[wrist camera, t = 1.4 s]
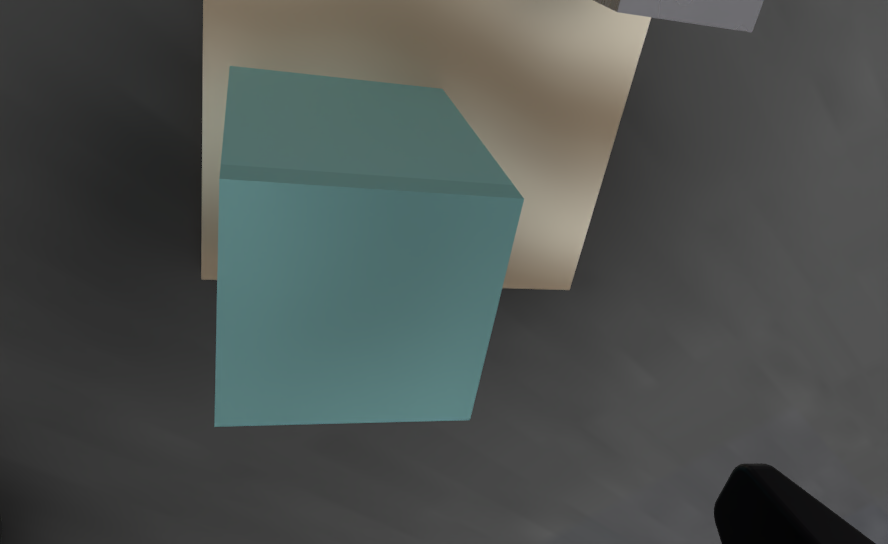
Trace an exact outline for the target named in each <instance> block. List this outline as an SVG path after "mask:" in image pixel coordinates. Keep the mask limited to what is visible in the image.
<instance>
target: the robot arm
mask: <svg viewBox="0 0 888 544" xmlns="http://www.w3.org/2000/svg"><path fill="white" fill-rule="evenodd" d="M714 518H715V523H716V526H717V529H718V533H719V536H720V539H721V542H722V544H875V543H874V542H873V541H871V540H870V539H869V538H867V537H866V536H865V535H863V534H862V533H861V532H859V531H858V530H857V529H855V528H854V527H853V526H851V525H850V524H849V523H847V522H846V521H845V520H843V519H842V518H841V517H839V516H838V515H837V514H835V513H834V512H833V511H831V510H830V509H829V508H827V507H826V506H825V505H823V504H822V503H821V502H819V501H818V500H817V499H815V498H814V497H813V496H811V495H810V494H809V493H807V492H806V491H805V490H803V489H802V488H801V487H799V486H798V485H797V484H795V483H794V482H793V481H791V480H790V479H789V478H787V477H786V476H785V475H783V474H782V473H781V472H779V471H778V470H777V469H775V468H774V467H772V466H770V465H767V464H740V465H739V466H737V467H736V468H735V469H734V470H733V472H732V474H731V475H730V477H729V479H728V481H727V482H726V484H725V486H724V488H723V490H722V491H721V493H720V495H719V497H718V499H717V500H716V503H715V507H714ZM1 535H2V521H1V516H0V542H1Z"/></svg>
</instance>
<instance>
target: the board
mask: <svg viewBox="0 0 888 544" xmlns="http://www.w3.org/2000/svg"><path fill="white" fill-rule="evenodd" d="M650 20H651V17H646V16H639V15H632V14H626V13H619V12H616V11H614V10H612V9H610V8H608V7H606V6H604V5H602V4H600V3H598V2H595V1H593V0H203V101H202V243H201V280H217V271H218V221H219V177H220V166H221V155H222V144H223V133H224V122H225V111H226V101H227V90H228V79H229V68H230V66H237V67H246V68H255V69H265V70H274V71H283V72H292V73H302V74H311V75H320V76H329V77H338V78H348V79H357V80H366V81H375V82H385V83H394V84H403V85H412V86H422V87H431V88H440V89H443V90H444V92H445V93H446V94H447V96H448V97H449V98H450V100H451V101H452V102H453V104H454V105H455V106H456V108H457V109H458V110H459V112H460V113H461V114H462V116H463V117H464V119H465V120H466V121H467V123H468V124H469V125H470V127H471V128H472V129H473V131H474V132H475V133H476V135H477V136H478V137H479V139H480V140H481V141H482V143H483V144H484V145H485V147H486V148H487V150H488V151H489V152H490V154H491V155H492V156H493V158H494V159H495V160H496V162H497V163H498V164H499V166H500V167H501V168H502V170H503V171H504V172H505V174H506V175H507V176H508V178H509V179H510V180H511V182H512V183H513V185H514V186H515V187H516V189H517V190H518V191H519V193H520V194H521V195H522V197H523V198H524V202H523V206H522V210H521V214H520V218H519V222H518V226H517V230H516V234H515V238H514V242H513V246H512V251H511V255H510V259H509V263H508V267H507V271H506V275H505V279H504V283H503V287H502V288H515V289H550V290H570V287H571V283H572V280H573V277H574V273H575V270H576V267H577V263H578V260H579V257H580V253H581V250H582V247H583V243H584V240H585V237H586V233H587V230H588V227H589V223H590V220H591V217H592V213H593V210H594V207H595V203H596V200H597V197H598V193H599V190H600V187H601V183H602V180H603V177H604V173H605V170H606V167H607V163H608V160H609V157H610V153H611V150H612V147H613V143H614V140H615V137H616V133H617V130H618V127H619V123H620V120H621V116H622V113H623V110H624V106H625V103H626V100H627V96H628V93H629V90H630V86H631V83H632V80H633V76H634V73H635V70H636V66H637V63H638V60H639V56H640V53H641V50H642V46H643V43H644V40H645V36H646V33H647V30H648V26H649V23H650Z"/></svg>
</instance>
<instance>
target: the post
mask: <svg viewBox="0 0 888 544" xmlns="http://www.w3.org/2000/svg"><path fill="white" fill-rule="evenodd" d="M593 1H595V2H598V3H600V4H602V5H604V6H606V7H608V8H610V9H612V10H614V11H616V12H619V13H626V14H632V15H639V16H646V17H652V18H659V19H666V20H672V21H679V22H686V23H692V24H699V25H706V26H712V27H719V28H726V29H732V30H739V31H746V32H752V31H753V28H754V26H755V23H756V20H757V17H758V15H759V12H760V9H761V7H762V4H763V1H764V0H593Z"/></svg>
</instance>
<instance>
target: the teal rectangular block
mask: <svg viewBox="0 0 888 544" xmlns="http://www.w3.org/2000/svg"><path fill="white" fill-rule="evenodd" d="M523 202H524V198H523V197H522V195H521V194H520V193H519V191H518V190H517V189H516V187H515V186H514V185H513V183H512V182H511V180H510V179H509V178H508V176H507V175H506V174H505V172H504V171H503V170H502V168H501V167H500V166H499V164H498V163H497V162H496V160H495V159H494V158H493V156H492V155H491V154H490V152H489V151H488V150H487V148H486V147H485V145H484V144H483V143H482V141H481V140H480V139H479V137H478V136H477V135H476V133H475V132H474V131H473V129H472V128H471V127H470V125H469V124H468V123H467V121H466V120H465V119H464V117H463V116H462V114H461V113H460V112H459V110H458V109H457V108H456V106H455V105H454V104H453V102H452V101H451V100H450V98H449V97H448V96H447V94H446V93H445V92H444V90H443V89H440V88H431V87H422V86H412V85H403V84H394V83H385V82H375V81H366V80H357V79H348V78H338V77H329V76H320V75H311V74H302V73H292V72H283V71H274V70H265V69H255V68H246V67H237V66H230V68H229V79H228V90H227V101H226V111H225V122H224V133H223V144H222V155H221V166H220V177H219V221H218V271H217V322H216V373H215V424H214V427H223V426H262V425H301V424H340V423H378V422H417V421H456V420H470V417H471V413H472V409H473V405H474V401H475V397H476V393H477V389H478V385H479V381H480V377H481V373H482V369H483V365H484V360H485V356H486V352H487V348H488V344H489V340H490V336H491V332H492V328H493V324H494V320H495V316H496V312H497V308H498V303H499V299H500V295H501V291H502V287H503V283H504V279H505V275H506V271H507V267H508V263H509V259H510V255H511V251H512V246H513V242H514V238H515V234H516V230H517V226H518V222H519V218H520V214H521V210H522V206H523Z"/></svg>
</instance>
